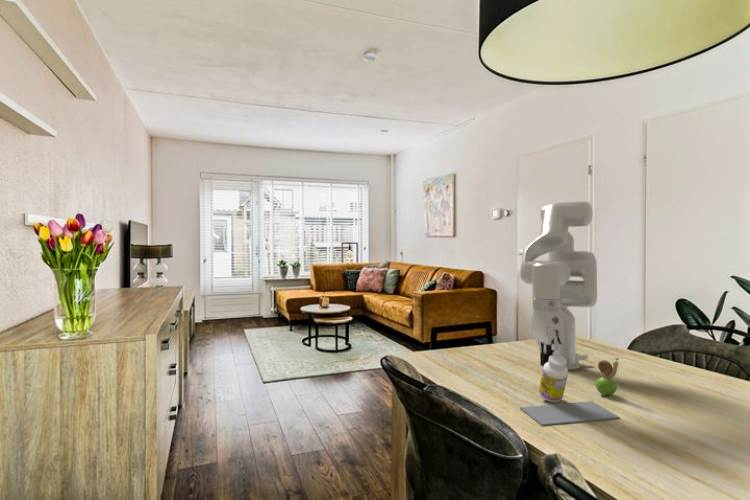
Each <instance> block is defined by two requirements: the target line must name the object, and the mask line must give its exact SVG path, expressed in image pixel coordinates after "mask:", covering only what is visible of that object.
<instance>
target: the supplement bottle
mask: <svg viewBox="0 0 750 500" xmlns="http://www.w3.org/2000/svg"><path fill="white" fill-rule="evenodd" d="M566 364H567V361H566V359H565V358H564V357H562V356H560V355H551V356H550V357H549V360H548V362H547V363H545V364H544V367H543V366H542V367H543V368H542V372H541V377H540V383H539V387H538V393H539V396H540V397H541V398H542V399H543V400H545V401H547V402H550V403H558V402H561V401H562V399H563V397H564V394H565V389H566V385H567V382H568V381H567V380H568V375H569V370H568V369H567V368H566Z"/></svg>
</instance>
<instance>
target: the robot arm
mask: <svg viewBox="0 0 750 500" xmlns="http://www.w3.org/2000/svg"><path fill="white" fill-rule="evenodd" d="M540 218H541V227H540V234H539V236H538V237H537V238H535V239H534V240H533V241H531V243H530V244H528V246H526V248H525V249H524V252H523V253H522V258H521V264H520V272H519V273H520V279H521V280H522V282H523V283H525V284H526V285H531V286H532V310H533V311H532V322H531V323H532V324H531V326H532V327H531V332H532V338H533V339H534V340H535V342H536V344H537V345H538V350H539V351H538V352H539V354H540V355H539V356H540V358H539V359H540V360H539V361H540V364H539V365H540V366H542V367H544V364H545V363H547V362H548V360H549V357H550V356H551V355H560V356H562V357H564V358H565V359H566V361H567V364H566V368H567V369H568V371H574V370H579V369H580V368H581V363H580V361H584V360H585V361H587V360H588V359H589V357H588V355H587V353H586V354H584V353H583V354H580V353H576V319H575V316H574V314H573V312H571V310H570V309H569V308H570V307H574V308H575V307H576V308H592V307H594V306H595V305H597V299H598V274H597V273H598V272H597V271H598V270H597V269H598V267H597V259H596V256H595V254H594V253H593V252H592V251H587V250H585V251H584V250H579V251H576V250H575V245H574V243H575V239H574V236H573V235H572V234H571V232H570V231H569V228H570V227H571V228H572V227H573V228H574V227H588V225H590V223H591V222H592V220H593V208H592V205H591V204H590V202H588V201H569V202H567V201H566V202H563V201H562V202H555V203H550V204H549V203H548V204H547V205H544V206H543V207H541V209H540ZM545 254H546V255H547V254H548V260H536V259H537V258H539V257H541V256H543V255H545ZM570 278H581V279H582V280H571V279H570ZM568 307H569V308H568Z"/></svg>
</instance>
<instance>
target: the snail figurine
mask: <svg viewBox="0 0 750 500" xmlns="http://www.w3.org/2000/svg"><path fill="white" fill-rule="evenodd" d="M597 367H598V374H599V375H600V377H599V378H598V379H597V380H596V382H595V387H596V390H597V391H598V392H599V393H600V394H601V395H603V396H607V397H608V396H612V395H614V394H615V393H616V391H617V388H618V387H617V384H616V382H615V380H614V379H612V378H614V377H615V376H616V374H617V371H618V367H619V357H615V361H613V363H611V362H609V361H608V360H606V359H602V360H600V361H598V364H597Z"/></svg>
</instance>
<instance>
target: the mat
mask: <svg viewBox="0 0 750 500" xmlns="http://www.w3.org/2000/svg"><path fill="white" fill-rule="evenodd" d="M519 409H520V410H521V411H522V412H523V413H525V414H526V415H527V416H529V418H531V419H532V420H534V421H535V422H536V423H537V424H538V425H539V426H541V427H543V426H544V427H546V426H553V425H554V426H555V425H563V424H565V425H566V424H575V423H586V422H587V423H588V422H596V421H609V420H619V419H621V417H620V416H619V415H617V414H615V413H614V412H612V411H610V410H608V409H607V408H605V407H603V406H601V405H599V404H598V403H596V402H594V401H593V400H592V401H591V400H590V401H578V402H566V403H555V404H545V405H544V404H543V405H533V406H532V405H531V406H520V407H519Z"/></svg>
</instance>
